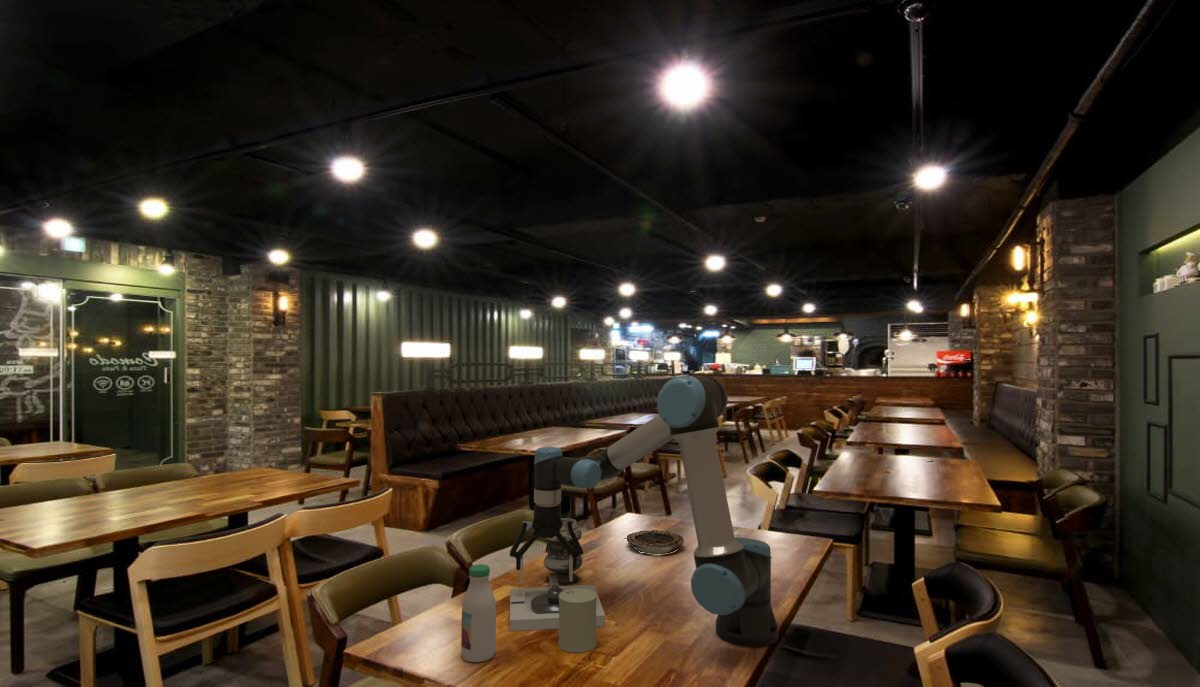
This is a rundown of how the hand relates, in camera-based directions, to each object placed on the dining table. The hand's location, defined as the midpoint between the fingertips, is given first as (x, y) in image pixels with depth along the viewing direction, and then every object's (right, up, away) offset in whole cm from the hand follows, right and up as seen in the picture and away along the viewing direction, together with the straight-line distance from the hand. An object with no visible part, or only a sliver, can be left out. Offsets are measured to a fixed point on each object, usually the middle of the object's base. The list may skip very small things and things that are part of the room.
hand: (546, 580), depth 173 cm
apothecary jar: (+3, -7, +19) cm, 21 cm away
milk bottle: (-13, -6, -30) cm, 33 cm away
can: (+10, -6, -24) cm, 27 cm away
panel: (+3, -6, -5) cm, 9 cm away
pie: (+35, -9, +53) cm, 64 cm away
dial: (+3, -5, -3) cm, 7 cm away
